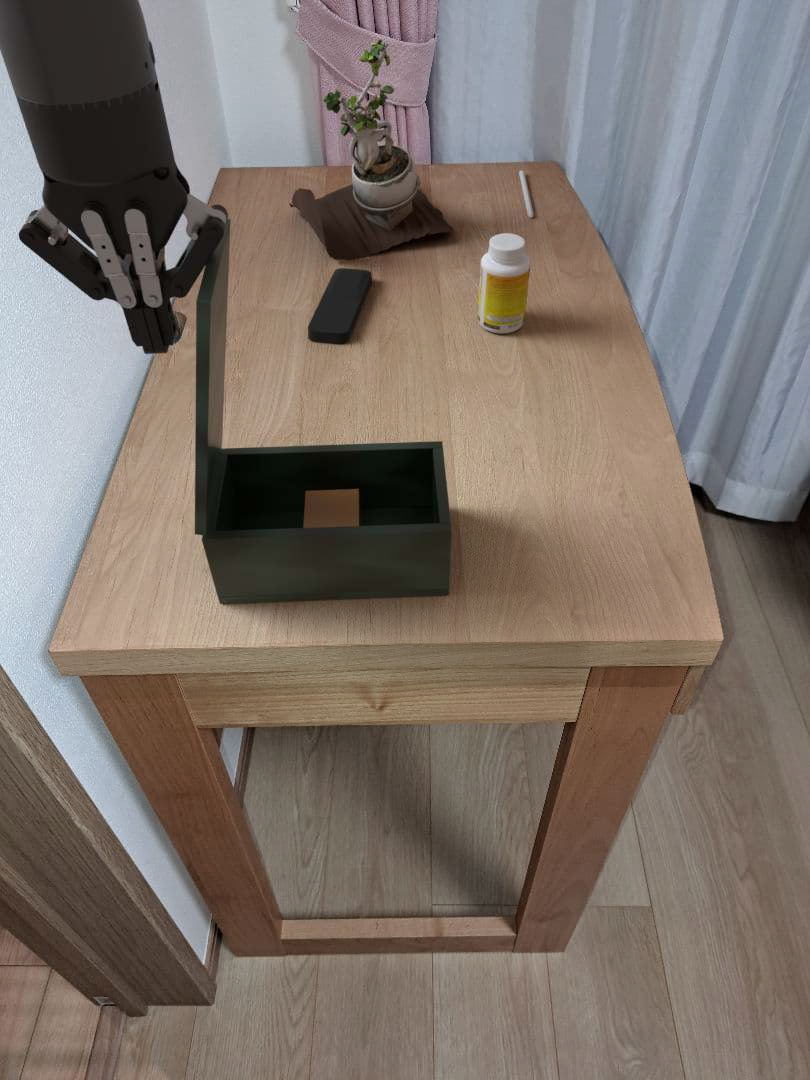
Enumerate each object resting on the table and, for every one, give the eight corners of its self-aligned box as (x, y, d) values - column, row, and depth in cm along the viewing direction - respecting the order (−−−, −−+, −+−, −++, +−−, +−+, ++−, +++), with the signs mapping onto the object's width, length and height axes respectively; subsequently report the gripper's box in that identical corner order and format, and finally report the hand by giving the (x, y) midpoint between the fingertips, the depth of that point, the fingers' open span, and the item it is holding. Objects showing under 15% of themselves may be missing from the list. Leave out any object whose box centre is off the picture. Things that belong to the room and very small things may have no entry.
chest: (440, 506, 77) (442, 440, 71) (449, 595, 69) (451, 530, 64) (233, 513, 76) (218, 448, 71) (219, 604, 69) (201, 539, 63)
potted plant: (465, 252, 115) (442, 82, 93) (344, 310, 113) (291, 152, 92) (405, 173, 124) (371, 3, 102) (293, 226, 123) (234, 66, 101)
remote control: (347, 348, 95) (374, 278, 105) (346, 335, 94) (373, 266, 104) (306, 344, 96) (336, 275, 106) (305, 331, 95) (335, 263, 104)
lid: (230, 218, 56) (217, 216, 56) (210, 303, 49) (196, 300, 49) (222, 444, 70) (212, 443, 70) (205, 535, 63) (194, 534, 63)
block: (362, 564, 71) (359, 526, 67) (308, 566, 71) (302, 529, 67) (361, 525, 74) (359, 488, 70) (310, 527, 74) (305, 490, 70)
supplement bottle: (532, 329, 97) (542, 247, 89) (490, 340, 95) (496, 257, 88) (510, 306, 100) (517, 225, 93) (469, 316, 99) (473, 235, 92)
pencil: (527, 217, 116) (517, 172, 126) (530, 222, 116) (520, 176, 126) (532, 214, 115) (522, 168, 126) (535, 219, 116) (525, 173, 126)
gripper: (-65, 102, 42) (49, 383, 54) (197, 94, 42) (249, 376, 55) (-19, 53, 47) (75, 321, 59) (214, 47, 47) (258, 314, 60)
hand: (158, 347), depth 57 cm, fingers closed
